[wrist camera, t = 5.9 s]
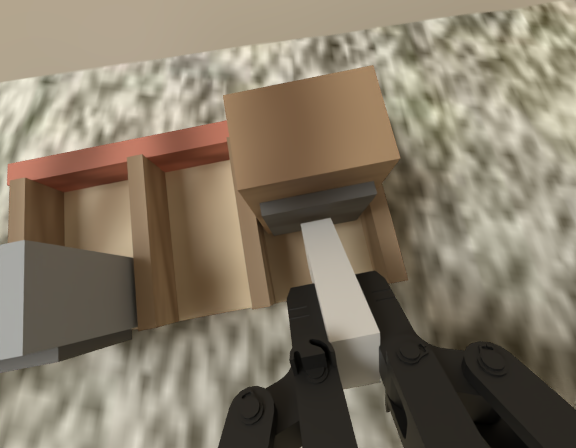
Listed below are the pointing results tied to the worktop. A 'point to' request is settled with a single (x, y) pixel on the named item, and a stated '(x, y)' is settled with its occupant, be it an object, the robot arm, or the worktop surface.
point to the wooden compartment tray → (180, 224)
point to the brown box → (311, 148)
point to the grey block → (62, 303)
